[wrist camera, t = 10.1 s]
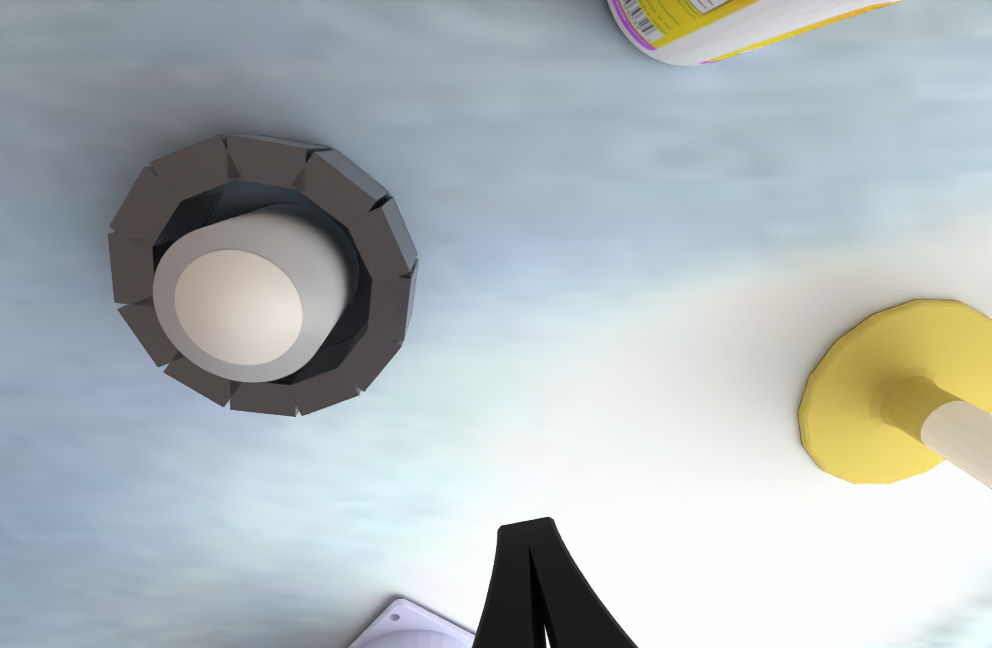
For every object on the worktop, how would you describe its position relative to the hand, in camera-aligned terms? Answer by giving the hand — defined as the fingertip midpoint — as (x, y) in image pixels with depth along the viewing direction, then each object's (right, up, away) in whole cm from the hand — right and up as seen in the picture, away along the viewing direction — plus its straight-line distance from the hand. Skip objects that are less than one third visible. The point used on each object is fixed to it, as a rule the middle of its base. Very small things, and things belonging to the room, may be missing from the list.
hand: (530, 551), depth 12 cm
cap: (-9, +8, +7) cm, 14 cm away
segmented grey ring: (-9, +8, +7) cm, 14 cm away
